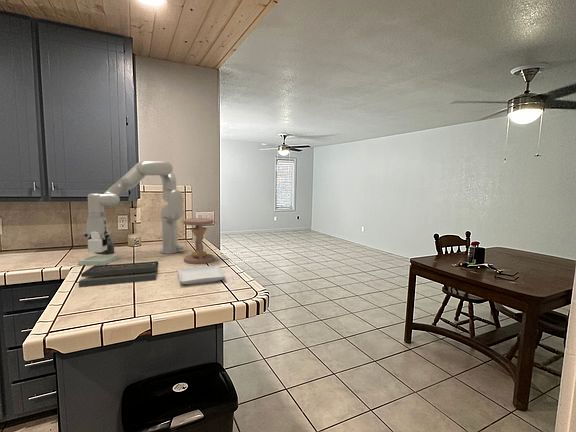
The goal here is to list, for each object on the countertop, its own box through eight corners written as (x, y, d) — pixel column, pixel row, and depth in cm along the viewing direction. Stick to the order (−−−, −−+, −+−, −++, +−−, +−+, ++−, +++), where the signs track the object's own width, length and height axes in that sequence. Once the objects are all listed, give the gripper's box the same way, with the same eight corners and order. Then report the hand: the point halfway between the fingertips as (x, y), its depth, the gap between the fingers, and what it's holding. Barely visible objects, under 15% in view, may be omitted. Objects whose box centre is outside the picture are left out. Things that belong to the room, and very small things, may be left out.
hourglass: (213, 263, 176) (213, 221, 173) (182, 264, 173) (181, 221, 170) (214, 256, 193) (214, 217, 191) (186, 257, 190) (185, 217, 187)
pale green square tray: (117, 259, 181) (117, 255, 181) (103, 265, 167) (103, 261, 167) (94, 258, 181) (94, 254, 181) (78, 265, 167) (78, 260, 167)
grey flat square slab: (176, 274, 156) (176, 268, 155) (218, 270, 164) (218, 264, 164) (179, 288, 137) (179, 281, 136) (226, 283, 145) (226, 276, 145)
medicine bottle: (94, 249, 177) (93, 229, 175) (107, 249, 177) (106, 229, 176) (87, 252, 170) (86, 231, 168) (101, 252, 170) (100, 231, 169)
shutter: (94, 278, 163) (79, 291, 134) (93, 265, 163) (77, 275, 134) (158, 270, 175) (156, 280, 146) (157, 258, 175) (155, 265, 146)
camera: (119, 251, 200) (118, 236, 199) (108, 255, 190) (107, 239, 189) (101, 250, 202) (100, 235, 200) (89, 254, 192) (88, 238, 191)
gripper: (115, 214, 175) (116, 244, 177) (85, 214, 175) (86, 243, 177) (107, 216, 168) (109, 247, 169) (76, 215, 167) (78, 246, 169)
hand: (97, 245), depth 173 cm, fingers closed on medicine bottle, 7 cm apart
